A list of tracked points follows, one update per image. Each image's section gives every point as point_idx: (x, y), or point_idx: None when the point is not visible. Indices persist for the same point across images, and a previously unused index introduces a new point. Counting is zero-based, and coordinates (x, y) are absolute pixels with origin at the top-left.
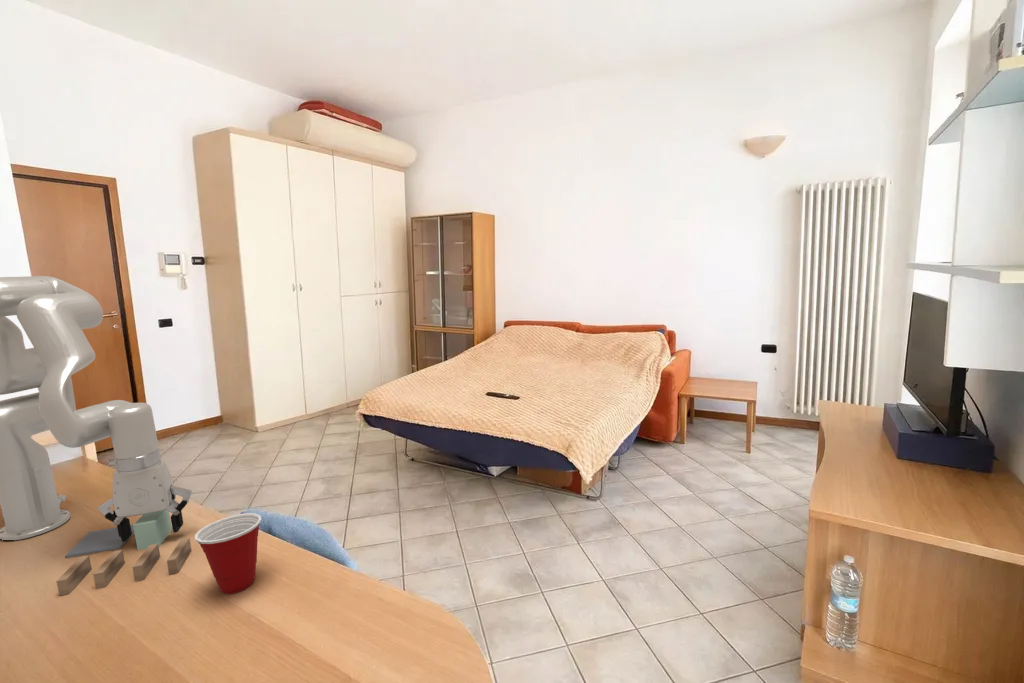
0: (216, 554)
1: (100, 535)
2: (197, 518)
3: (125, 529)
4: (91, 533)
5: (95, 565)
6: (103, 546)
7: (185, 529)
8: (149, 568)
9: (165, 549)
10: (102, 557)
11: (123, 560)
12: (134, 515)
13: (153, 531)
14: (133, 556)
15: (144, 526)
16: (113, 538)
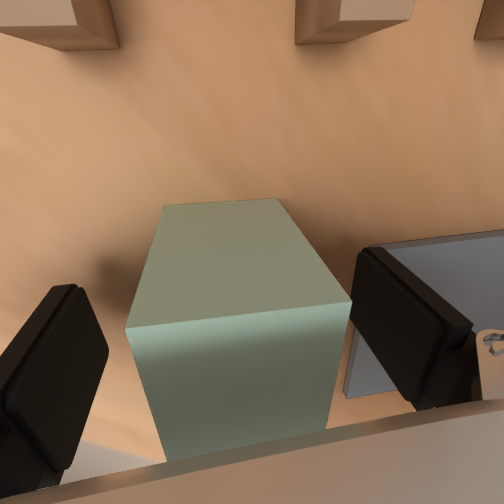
0: None
1: None
2: (124, 414)
3: (396, 311)
4: None
5: (458, 90)
6: (447, 266)
7: (120, 347)
8: None
9: (95, 161)
10: (434, 178)
11: (304, 20)
12: (386, 423)
13: (167, 259)
14: (273, 131)
15: (237, 289)
16: None
